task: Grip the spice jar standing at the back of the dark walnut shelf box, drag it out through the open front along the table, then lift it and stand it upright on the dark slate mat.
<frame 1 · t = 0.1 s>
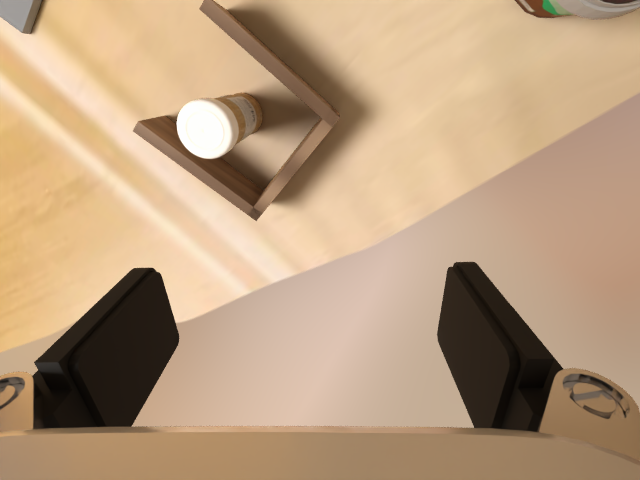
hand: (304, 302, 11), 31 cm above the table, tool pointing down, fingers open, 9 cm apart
shelf box: (244, 114, 37), on the table
spice jar: (244, 114, 38), on the table
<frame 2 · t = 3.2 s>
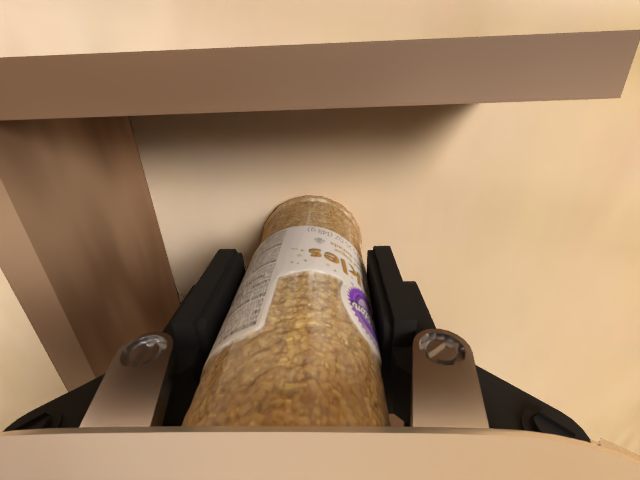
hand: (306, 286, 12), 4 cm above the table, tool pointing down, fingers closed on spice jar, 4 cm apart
shelf box: (311, 239, 15), on the table
spice jar: (311, 236, 15), on the table, touching gripper
when the fingers open (6 cm above the table, at t = 11.4 s): spice jar drops 1 cm, resting on slate mat.
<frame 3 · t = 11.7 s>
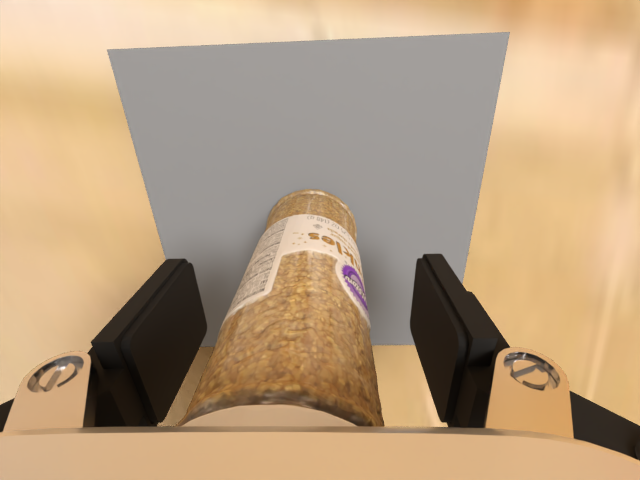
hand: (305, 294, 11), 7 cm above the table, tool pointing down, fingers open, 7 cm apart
slate mat: (313, 218, 17), on the table
spice jar: (310, 227, 17), point 1 cm above the table, touching slate mat
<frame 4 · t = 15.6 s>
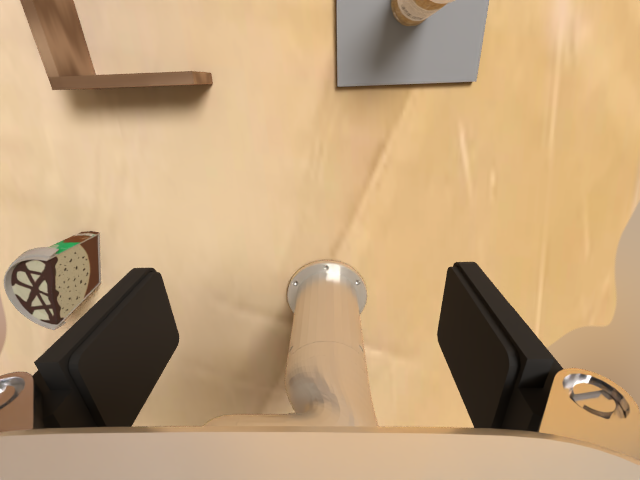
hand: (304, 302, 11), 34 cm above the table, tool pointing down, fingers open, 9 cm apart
slate mat: (410, 2, 35), on the table
shelf box: (139, 14, 36), on the table
spice jar: (411, 2, 34), point 1 cm above the table, touching slate mat
food container: (80, 253, 50), on the table
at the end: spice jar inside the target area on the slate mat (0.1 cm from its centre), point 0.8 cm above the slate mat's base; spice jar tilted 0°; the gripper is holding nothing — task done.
